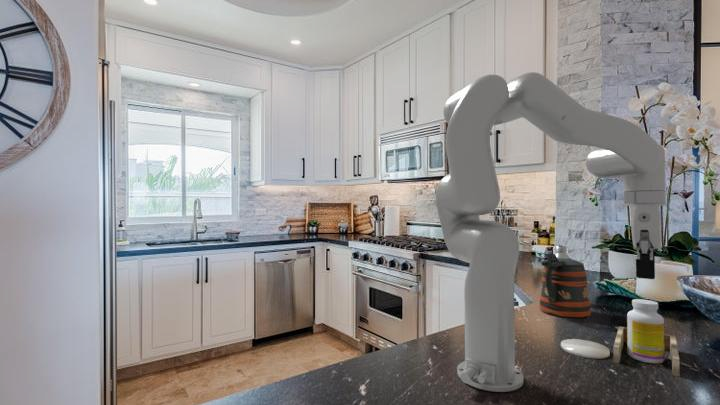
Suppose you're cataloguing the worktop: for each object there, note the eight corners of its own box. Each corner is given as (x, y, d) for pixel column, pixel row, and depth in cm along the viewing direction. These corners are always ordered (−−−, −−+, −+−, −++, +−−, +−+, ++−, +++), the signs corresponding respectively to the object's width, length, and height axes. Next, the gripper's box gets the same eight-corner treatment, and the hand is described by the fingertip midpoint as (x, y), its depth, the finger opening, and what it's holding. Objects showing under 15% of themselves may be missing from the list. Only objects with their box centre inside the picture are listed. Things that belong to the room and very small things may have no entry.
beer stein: (579, 325, 106) (578, 256, 106) (526, 314, 116) (526, 251, 116) (596, 312, 119) (595, 250, 119) (548, 303, 129) (547, 246, 129)
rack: (679, 376, 74) (679, 359, 74) (613, 362, 81) (613, 346, 81) (675, 350, 87) (675, 335, 87) (619, 339, 94) (619, 326, 94)
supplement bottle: (671, 366, 79) (671, 306, 79) (637, 363, 80) (636, 304, 80) (653, 353, 86) (653, 298, 86) (621, 351, 87) (621, 297, 87)
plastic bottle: (572, 300, 133) (571, 245, 133) (571, 304, 127) (570, 247, 127) (552, 298, 136) (551, 244, 137) (550, 302, 131) (549, 246, 131)
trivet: (607, 362, 81) (607, 358, 81) (557, 351, 87) (556, 348, 87) (611, 348, 89) (611, 345, 89) (564, 339, 95) (564, 336, 95)
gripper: (666, 199, 74) (668, 283, 74) (664, 199, 88) (666, 270, 88) (621, 199, 79) (623, 279, 79) (626, 199, 92) (627, 267, 92)
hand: (645, 274), depth 83 cm, fingers open, 9 cm apart
